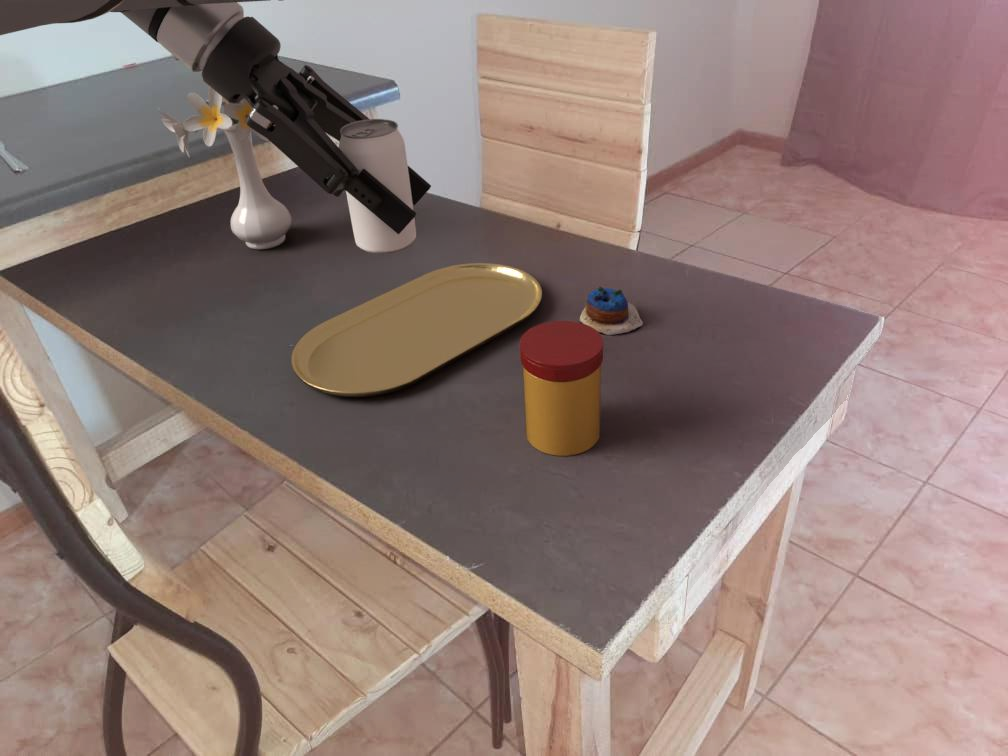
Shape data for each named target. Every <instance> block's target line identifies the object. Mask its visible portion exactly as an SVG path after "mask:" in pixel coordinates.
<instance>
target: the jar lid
mask: <svg viewBox="0 0 1008 756" xmlns="http://www.w3.org/2000/svg"><path fill="white" fill-rule="evenodd" d="M519 354H520V355H519V356H520V364H521V365H522V368H523V367H524V368H525V370H526V371H528V372H529V373H530V374H532V375H534V376H536V377H538V378H542V379H545V380H550V381H571V380H577V379H580V378H583V377H586V376H588V375H590V374H592V373H593V372H595V371H596V370H597V369H598V368H599V367H600V365H601V366H602V364H603V361H604V339H603V336H602V335H601V332H598V331H597V330H595V329H594V328H592V327H590V326H588V325H586V324H583V323H582V322H580V321H579V322H578V321H573V320H554V321H547V322H543V323H540V324H537V325H535V326H532V327H531V328H529V329H528V330H527V331H525V332H524V334H522V336H521V338H520V340H519Z"/></svg>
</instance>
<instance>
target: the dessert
mask: <svg viewBox="0 0 1008 756" xmlns="http://www.w3.org/2000/svg"><path fill="white" fill-rule="evenodd" d="M579 322H580V323H583V324H586V325H588V326H590V327H592V328H594V329H595V330H597V331H598V332H599V333H602V334H604V335H607V336H613V335H619V334H625V333H629V332H631V331H634V330H636V329H637V328H639V327H642V326H643V325H644V322H643V320H642V319H641V318H640V313H639V312H638V309H637V308H636V306H635V305H633V304H632V303H630V302H628V299H627V298H626V297H625V294H624V293H623V291H622V290H621V289H617V290H616V289H612V288H609V287H608V288H607V287H602V286H599V287H598V288H596V289H594V290H592V291H591V292H589V293H588V295H587V300H586V303H585V307H584V308H583V310H582V311H581V314H580V316H579Z"/></svg>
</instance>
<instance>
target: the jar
mask: <svg viewBox="0 0 1008 756" xmlns="http://www.w3.org/2000/svg"><path fill="white" fill-rule="evenodd" d="M522 380H523V382H522V383H523V401H524V417H525V419H524V421H525V436H526V438H527V441H528V442H529V444H530V445H531V446H532V447H533V448H534V449H536V450H538V451H539V452H542V453H544V454H547V455H550V456H556V457H568V456H569V457H570V456H575V455H580V454H581V453H584V452H586V451H588V450H590V449H591V448H592V447H594V446H595V445H596V444H597V442H598V441H599V439H600V437H601V405H602V404H601V401H602V399H601V398H602V364H601V365H600V367H599V368H598V369H597V370H596V371H595V372H593V373H592V374H590V375H588V376H586V377H583V378H580V379H577V380H571V381H550V380H545V379H542V378H538V377H536V376H534V375H532V374H530V373H529V372H528V371H526V370H525V368H524V367H523V366H522Z"/></svg>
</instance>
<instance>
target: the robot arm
mask: <svg viewBox="0 0 1008 756" xmlns="http://www.w3.org/2000/svg"><path fill="white" fill-rule="evenodd" d="M268 1H270V0H0V36H4V35H9V34H12V33H16V32H20V31H25V30H29V29H33V28H37V27H41V26H42V27H43V26H47V25H55V24H71V23H72V24H74V23H80V22H84V21H89V20H93V19H96V18H99V17H101V16H103V15H106V14H109V13H120V14H121V15H123V16H124V17H126V18H127V19H128V20H129V21H130V22H132V23H133V24H134V25H136V26H137V27H138V28H139V29H140V30H142V31H143V32H144V33H146V35H148V36H149V37H150V38H152V39H153V40H154V41H155V42H156V43H158V44H160V45H161V46H162V47H163V48H164V49H165V50H166V51H167V52H169V53H170V55H171V57H172V59H174V60H175V61H180V62H181V63H182V64H183V65H184V66H185V67H187V68H188V69H189V70H191V71H192V72H193V73H200V72H201V77H202V81H203V82H204V83H205V84H206V85H207V86H210V87H211V88H212V89H214V91H216V92H217V93H218V94H220V95H221V96H222V97H223V98H224V99H226V100H227V101H228V102H230V103H232V104H235V103H238V102H240V101H241V100H243V99H244V98H245V99H246V100H247V102H248V103H249V104H250V106H251V107H252V108H253V109H252V110H251V112H250V113H249V115H248V116H247V118H246V119H245V123H246V124H247V125H248V126H249V127H250V128H252V129H253V130H255V131H256V132H258V133H260V134H261V135H263V136H264V137H266V138H267V139H268V140H269V141H268V142H270V143H271V144H272V145H274V147H276V148H277V149H278V151H280V152H281V153H282V154H283V155H285V156H286V157H287V158H288V159H289V160H290V161H291V162H293V164H295V165H296V166H297V167H298V168H299V169H300V170H301V171H303V173H304V174H306V175H307V176H308V177H309V178H310V179H311V180H313V181H314V183H316V184H317V185H318V186H319V187H320V188H321V189H322V190H323V191H325V192H326V194H329V195H333V196H335V197H336V198H340V197H341V196H342V195H343V194H344V193H345V192H346V191H347V192H348V193H349V194H351V195H352V196H353V197H354V198H355V199H357V200H358V201H359V202H360V203H361V204H363V205H364V206H365V207H366V208H367V209H369V210H370V211H371V212H372V213H373V214H375V215H376V216H377V217H378V218H379V219H381V220H382V221H383V222H384V223H385V224H387V225H388V226H389V227H390V228H391V229H393V230H394V231H395V232H396V233H397V234H400V233H401V231H402V230H403V229H404V228H405V227H406V226H407V225H408V224H409V223H410V222H411V220H412V219H413V218H414V219H415V217H417V212H416V211H415V210H414V209H413V210H412V209H411V208H410V207H409V206H408V205H406V204H405V203H404V202H403V201H402V200H401V199H399V198H398V197H397V196H396V195H395V194H393V193H392V192H391V191H390V190H389V189H388V188H386V187H385V186H384V185H383V184H382V183H381V182H379V181H378V180H377V179H376V178H375V177H374V176H372V175H371V174H370V173H369V172H368V171H366V170H365V169H363V170H362V171H361V172H360V174H359V171H358V169H357V168H356V167H355V166H354V165H353V164H352V162H351V161H350V160H349V159H348V158H347V157H346V156H345V154H344V153H343V152H342V151H341V150H340V149H339V146H338V145H337V144H336V143H335V142H334V140H333V139H335V140H336V141H338V143H339V142H340V139H341V134H340V129H341V128H342V127H343V126H345V125H347V124H350V123H353V122H356V121H361V120H368V119H370V118H369V117H368V116H367V115H366V114H364V113H363V112H362V111H361V110H360V109H358V107H356V106H354V105H353V104H352V103H351V102H350V101H348V100H347V99H346V98H345V97H344V96H342V95H341V94H340V93H339V92H338V91H336V90H335V89H334V88H332V87H331V86H330V85H329V84H327V82H325V81H324V80H323V79H322V77H321V76H320V75H319V74H318V73H317V72H316V71H315V70H314V69H313V68H312V67H311V66H309V65H307V64H304V65H303V66H302V68H301V70H300V71H296V70H295V69H294V68H292V67H290V66H288V65H287V64H285V63H284V62H282V61H281V60H280V59H279V56H278V55H279V53H280V51H281V48H282V47H281V41H280V40H279V38H278V37H276V36H275V35H274V34H273V32H271V31H270V30H269V29H268V28H266V27H265V26H264V25H263V24H261V22H259V21H258V20H257V19H256V18H255V17H253V16H245V11H244V7H243V6H242V5H241V4H240V3H249V2H251V3H253V2H268ZM278 1H283V0H278ZM252 129H251V130H252ZM253 130H252V131H253ZM331 137H332V138H333V139H331ZM408 172H409V180H410V187H411V195H412V203H413V207H415V206H416V205H417V204H418V203H419V201H421V199H422V198H423V197H424V196H425V195H426V194H427V193H428V191H430V189H431V188H432V185H431V184H430V183H429V182H428V181H427V180H425V178H423V177H422V176H421V175H420V174H418V173H417V172H416V171H415V170H414V169H413V168H412V167H410V165H408ZM358 174H359V175H358Z"/></svg>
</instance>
